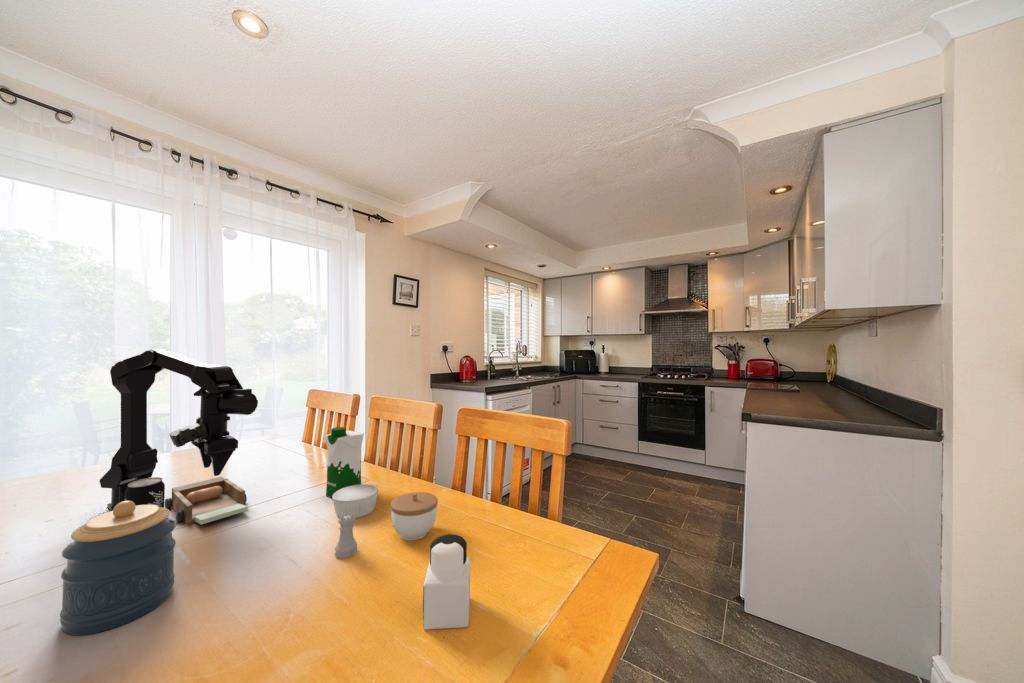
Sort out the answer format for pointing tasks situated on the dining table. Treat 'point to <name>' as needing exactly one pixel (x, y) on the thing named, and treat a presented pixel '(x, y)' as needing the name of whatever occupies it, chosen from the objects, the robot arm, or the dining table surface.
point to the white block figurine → (447, 584)
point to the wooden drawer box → (188, 511)
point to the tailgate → (220, 513)
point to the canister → (117, 568)
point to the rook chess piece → (346, 537)
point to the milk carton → (343, 459)
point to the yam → (204, 494)
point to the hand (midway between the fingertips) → (211, 471)
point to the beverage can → (146, 492)
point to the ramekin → (355, 500)
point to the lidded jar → (414, 514)
